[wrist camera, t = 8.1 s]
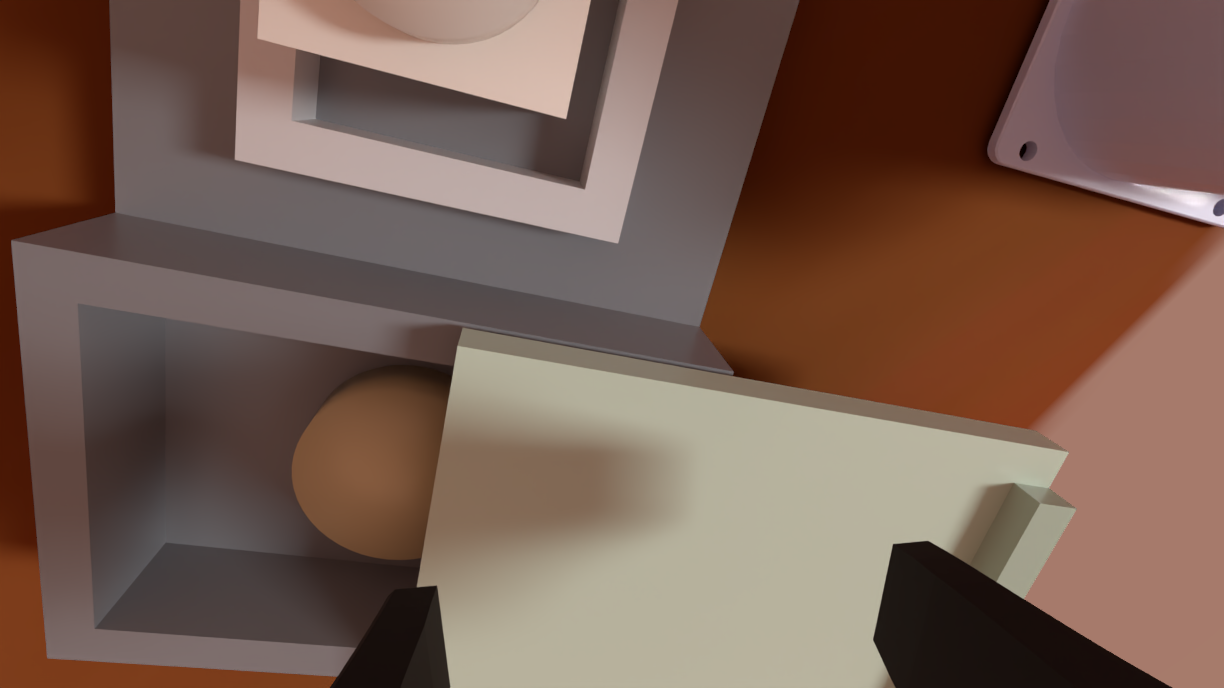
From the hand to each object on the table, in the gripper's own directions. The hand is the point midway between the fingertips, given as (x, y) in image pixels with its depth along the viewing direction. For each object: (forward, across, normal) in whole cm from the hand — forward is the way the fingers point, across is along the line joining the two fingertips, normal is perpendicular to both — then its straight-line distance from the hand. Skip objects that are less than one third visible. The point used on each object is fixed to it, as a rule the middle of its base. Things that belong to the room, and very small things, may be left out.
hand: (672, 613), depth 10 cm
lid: (+5, -2, +3) cm, 6 cm away
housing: (+9, +4, -4) cm, 11 cm away
